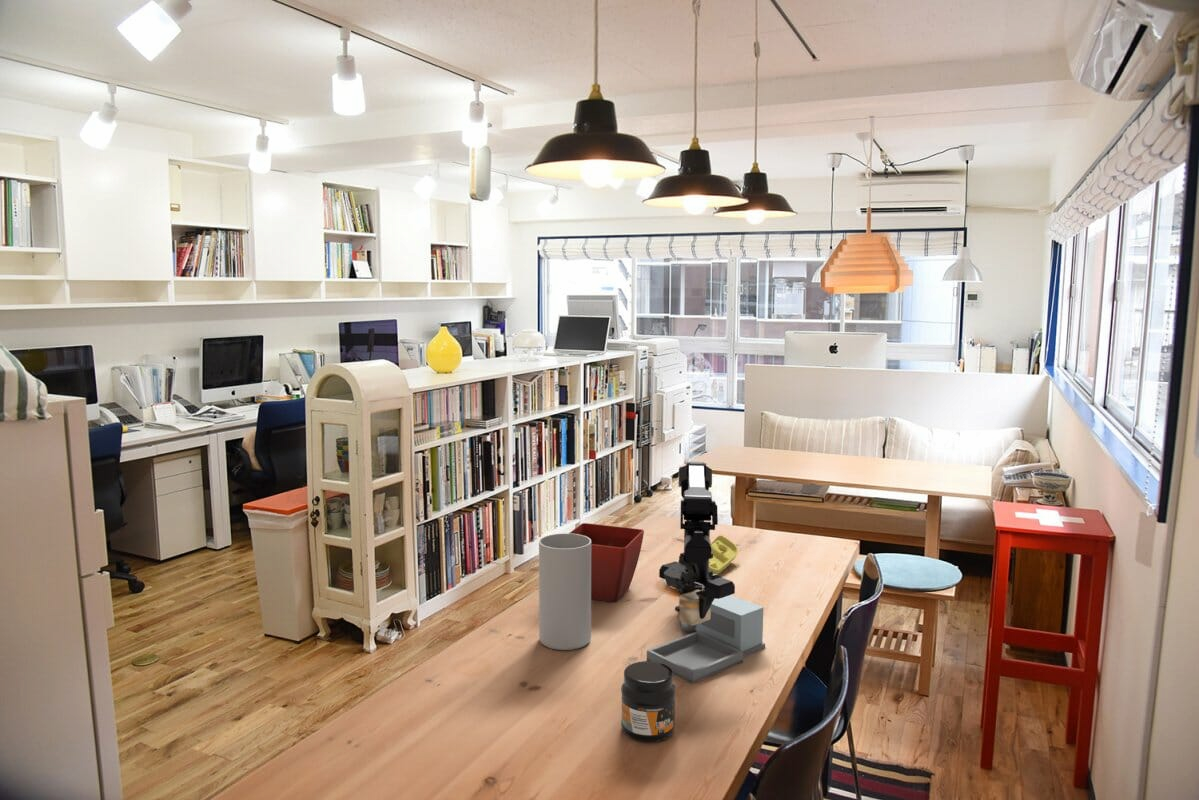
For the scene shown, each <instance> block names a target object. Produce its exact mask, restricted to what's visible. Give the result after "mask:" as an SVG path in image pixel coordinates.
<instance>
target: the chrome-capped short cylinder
mask: <svg viewBox="0 0 1199 800" xmlns="http://www.w3.org/2000/svg"><path fill="white" fill-rule="evenodd" d="M680 623H681V627H680V629H681V632H682V633H683V634H688V635H689V634H692V633H694V632H696V625H697V624H696V625H693V626H691V625H689V624H686V623H684V622H682V621H680Z"/></svg>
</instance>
